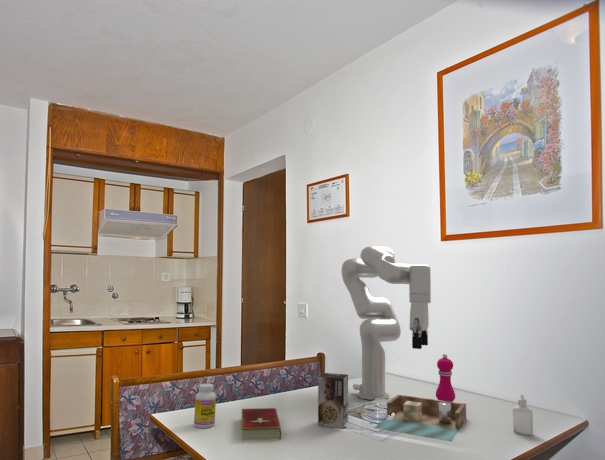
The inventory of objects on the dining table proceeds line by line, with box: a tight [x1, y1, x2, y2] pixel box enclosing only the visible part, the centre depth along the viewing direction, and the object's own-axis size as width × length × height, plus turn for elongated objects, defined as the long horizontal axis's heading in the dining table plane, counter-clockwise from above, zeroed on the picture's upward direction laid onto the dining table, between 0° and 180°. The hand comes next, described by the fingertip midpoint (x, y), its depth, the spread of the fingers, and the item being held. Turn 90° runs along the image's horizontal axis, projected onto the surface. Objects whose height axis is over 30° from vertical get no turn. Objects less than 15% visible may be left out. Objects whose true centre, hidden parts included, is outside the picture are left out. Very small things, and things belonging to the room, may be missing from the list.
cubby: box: [374, 394, 467, 442], centre depth 157 cm, size 24×26×6 cm
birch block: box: [403, 401, 422, 421], centre depth 162 cm, size 5×5×5 cm
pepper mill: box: [435, 353, 456, 402], centre depth 181 cm, size 7×7×20 cm
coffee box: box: [317, 372, 349, 430], centre depth 158 cm, size 9×6×16 cm
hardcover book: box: [240, 407, 282, 441], centre depth 152 cm, size 12×21×4 cm, turn 7°
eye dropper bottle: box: [512, 394, 534, 436], centre depth 152 cm, size 4×6×12 cm
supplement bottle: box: [193, 383, 217, 429], centre depth 154 cm, size 7×7×13 cm
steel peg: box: [438, 402, 451, 424], centre depth 158 cm, size 4×4×6 cm
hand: (420, 346), depth 169 cm, fingers open, 9 cm apart
